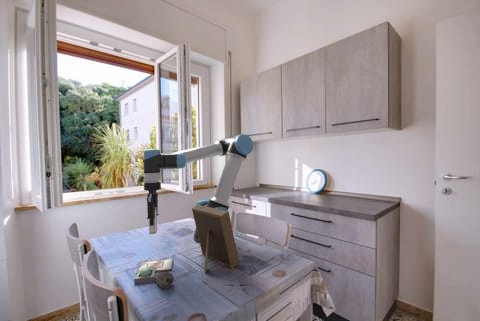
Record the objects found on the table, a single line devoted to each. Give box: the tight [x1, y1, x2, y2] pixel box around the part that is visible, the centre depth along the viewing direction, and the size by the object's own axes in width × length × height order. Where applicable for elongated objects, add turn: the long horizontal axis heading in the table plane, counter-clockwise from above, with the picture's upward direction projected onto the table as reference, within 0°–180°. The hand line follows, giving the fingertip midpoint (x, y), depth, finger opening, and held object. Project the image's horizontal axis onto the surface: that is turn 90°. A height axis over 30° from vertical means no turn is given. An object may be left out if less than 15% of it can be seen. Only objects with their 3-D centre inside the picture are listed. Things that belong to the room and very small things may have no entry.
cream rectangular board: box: [136, 258, 174, 274], centre depth 99 cm, size 14×10×1 cm
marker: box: [149, 207, 158, 235], centre depth 107 cm, size 3×3×12 cm
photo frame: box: [191, 205, 240, 274], centre depth 102 cm, size 15×22×25 cm
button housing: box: [133, 268, 157, 285], centre depth 90 cm, size 7×7×2 cm
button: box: [140, 267, 151, 277], centre depth 90 cm, size 4×4×3 cm
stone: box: [154, 271, 175, 290], centre depth 85 cm, size 10×5×8 cm
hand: (153, 230), depth 107 cm, fingers closed on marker, 3 cm apart
